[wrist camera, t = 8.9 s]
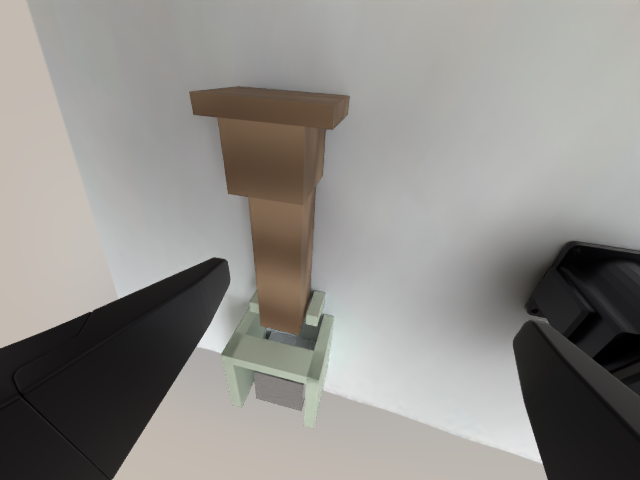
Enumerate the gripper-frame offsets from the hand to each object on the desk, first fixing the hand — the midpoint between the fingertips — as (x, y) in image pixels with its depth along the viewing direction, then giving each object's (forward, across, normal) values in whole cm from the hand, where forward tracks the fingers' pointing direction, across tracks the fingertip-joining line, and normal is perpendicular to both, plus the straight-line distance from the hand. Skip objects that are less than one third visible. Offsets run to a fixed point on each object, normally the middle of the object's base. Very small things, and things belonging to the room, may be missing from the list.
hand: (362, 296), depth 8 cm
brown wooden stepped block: (+12, +6, +5) cm, 14 cm away
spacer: (+10, +6, +19) cm, 22 cm away
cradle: (+12, +6, +18) cm, 22 cm away
